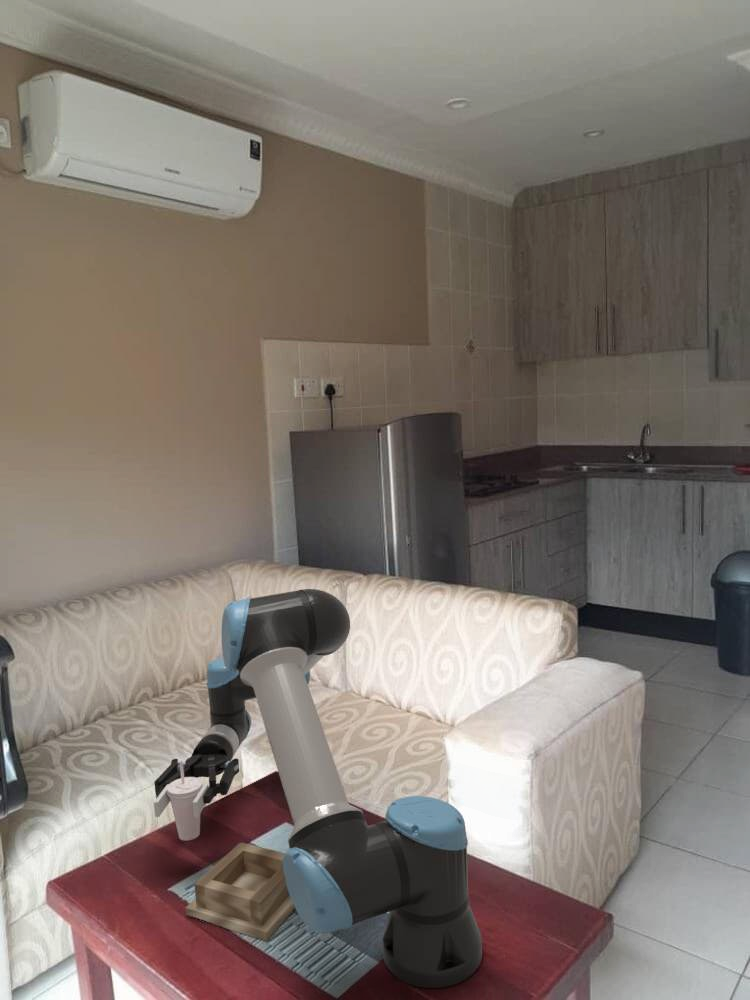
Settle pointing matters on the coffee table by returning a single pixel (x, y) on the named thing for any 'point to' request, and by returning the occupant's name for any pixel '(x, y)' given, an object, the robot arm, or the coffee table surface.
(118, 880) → the coffee table surface
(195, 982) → the coffee table surface
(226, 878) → the wooden box
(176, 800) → the smoothie
